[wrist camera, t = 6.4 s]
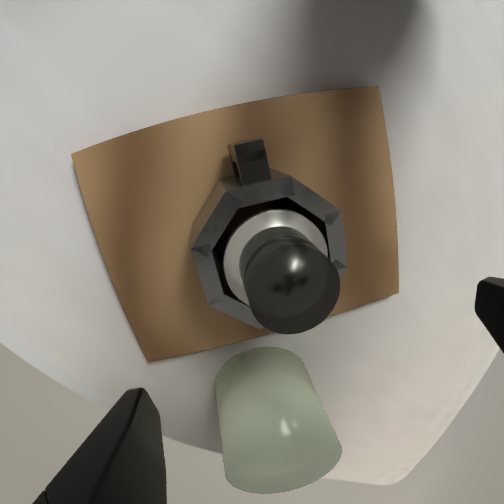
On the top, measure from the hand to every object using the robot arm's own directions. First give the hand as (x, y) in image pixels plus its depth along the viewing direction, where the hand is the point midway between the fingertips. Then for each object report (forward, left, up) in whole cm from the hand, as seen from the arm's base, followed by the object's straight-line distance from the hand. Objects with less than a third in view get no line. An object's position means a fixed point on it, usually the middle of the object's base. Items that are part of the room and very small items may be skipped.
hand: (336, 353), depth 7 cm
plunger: (0, 0, -11) cm, 11 cm away
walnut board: (0, 0, -13) cm, 13 cm away
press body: (0, 0, -12) cm, 12 cm away
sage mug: (+2, +12, -13) cm, 18 cm away
